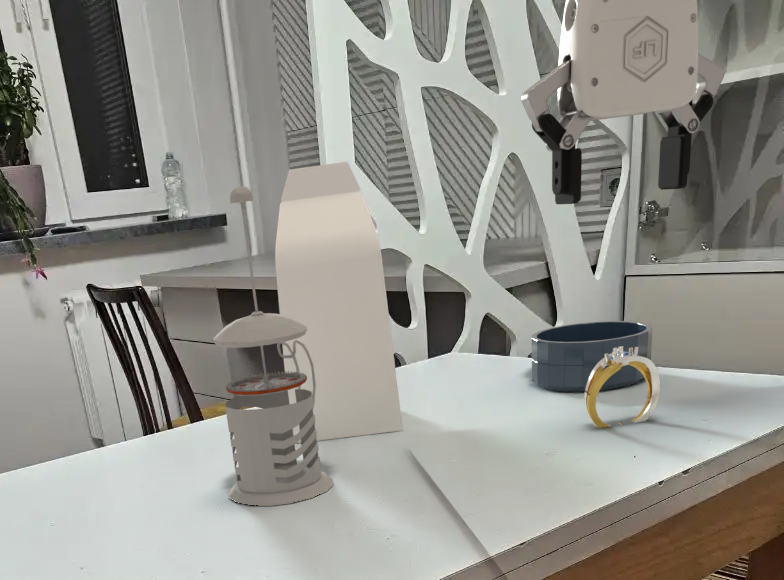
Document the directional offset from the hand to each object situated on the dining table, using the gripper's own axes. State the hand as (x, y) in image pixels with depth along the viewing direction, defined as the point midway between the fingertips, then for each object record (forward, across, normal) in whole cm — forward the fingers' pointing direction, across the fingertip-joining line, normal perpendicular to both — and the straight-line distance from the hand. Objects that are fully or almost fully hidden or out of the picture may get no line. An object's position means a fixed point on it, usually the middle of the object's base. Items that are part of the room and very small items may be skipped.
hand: (620, 196), depth 76 cm
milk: (+21, -20, +22) cm, 36 cm away
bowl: (+20, +10, +23) cm, 32 cm away
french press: (+21, -31, +4) cm, 37 cm away
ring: (+21, +1, 0) cm, 21 cm away
